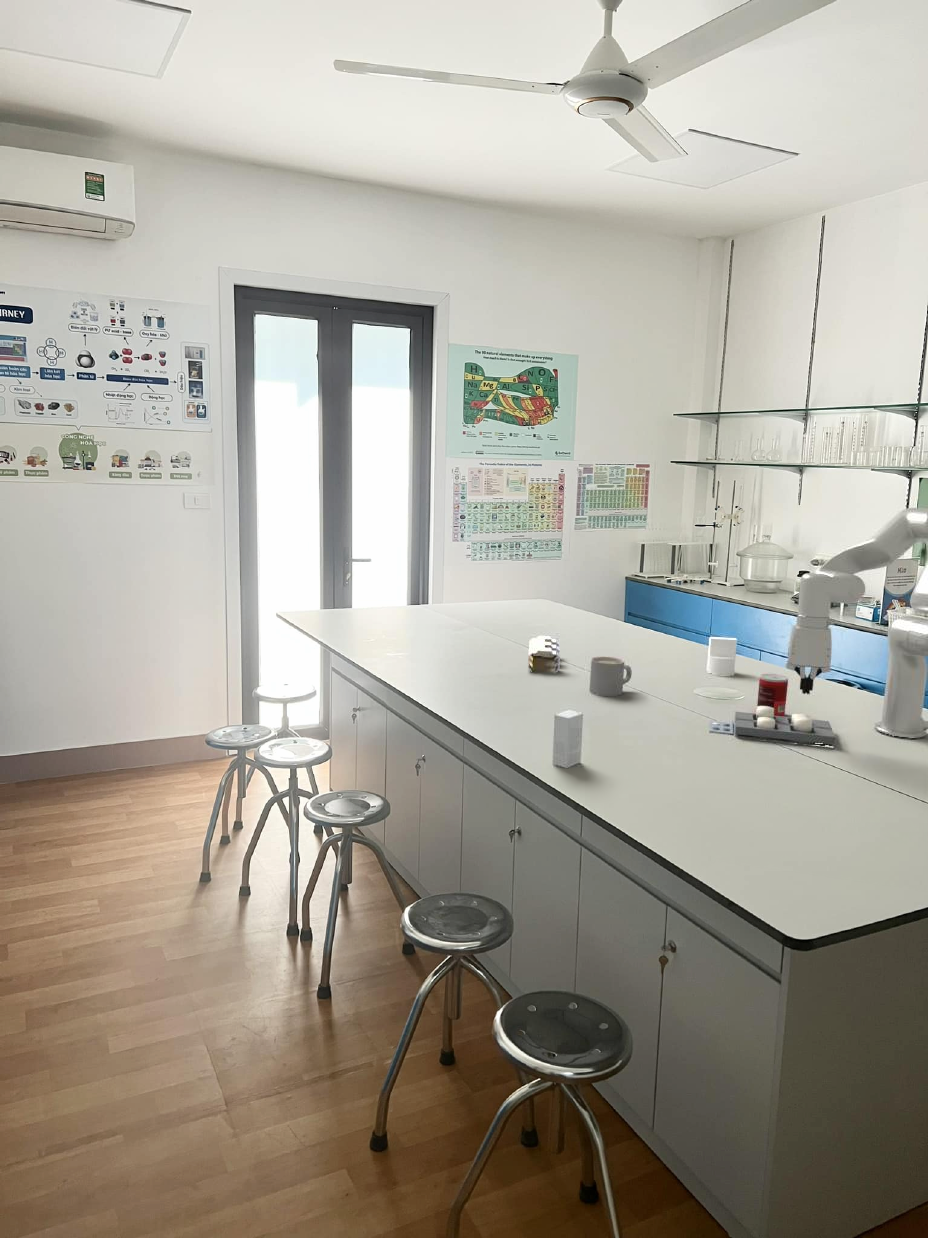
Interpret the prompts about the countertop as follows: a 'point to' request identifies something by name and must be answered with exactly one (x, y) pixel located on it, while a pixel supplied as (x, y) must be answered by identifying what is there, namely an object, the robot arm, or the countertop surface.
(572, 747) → the skincare box
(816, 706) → the countertop surface
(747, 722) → the button board
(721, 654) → the cylinder with rectangular tab
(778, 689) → the canned food
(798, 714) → the button
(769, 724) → the button
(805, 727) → the button
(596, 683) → the coffee mug
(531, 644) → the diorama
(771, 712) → the button
